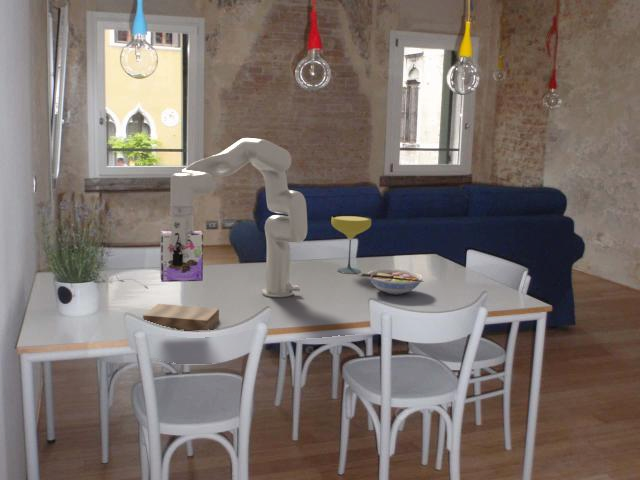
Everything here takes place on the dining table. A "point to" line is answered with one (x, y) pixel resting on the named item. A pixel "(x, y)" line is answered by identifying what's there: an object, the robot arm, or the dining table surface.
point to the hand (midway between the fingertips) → (181, 262)
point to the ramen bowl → (394, 280)
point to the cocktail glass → (350, 231)
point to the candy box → (191, 259)
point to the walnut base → (183, 316)
